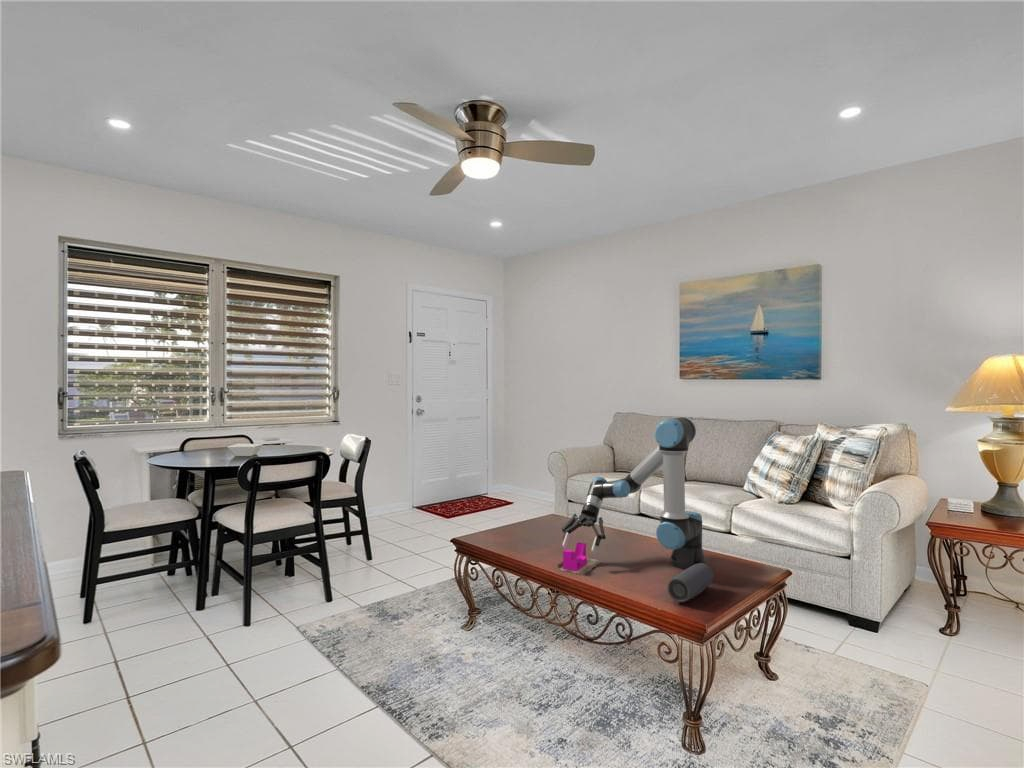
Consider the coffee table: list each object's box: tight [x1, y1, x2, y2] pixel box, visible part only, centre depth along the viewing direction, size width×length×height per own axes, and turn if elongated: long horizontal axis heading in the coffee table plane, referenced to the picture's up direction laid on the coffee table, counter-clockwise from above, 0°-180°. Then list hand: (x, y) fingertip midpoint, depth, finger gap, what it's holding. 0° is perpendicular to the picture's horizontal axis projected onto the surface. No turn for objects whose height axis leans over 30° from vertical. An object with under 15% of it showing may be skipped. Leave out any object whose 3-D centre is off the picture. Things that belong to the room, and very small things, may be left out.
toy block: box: [562, 541, 588, 571], centre depth 233 cm, size 15×6×8 cm, turn 148°
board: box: [557, 557, 601, 576], centre depth 235 cm, size 12×18×2 cm, turn 149°
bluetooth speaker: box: [667, 563, 714, 603], centre depth 202 cm, size 23×9×10 cm, turn 139°
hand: (578, 549), depth 233 cm, fingers open, 13 cm apart
